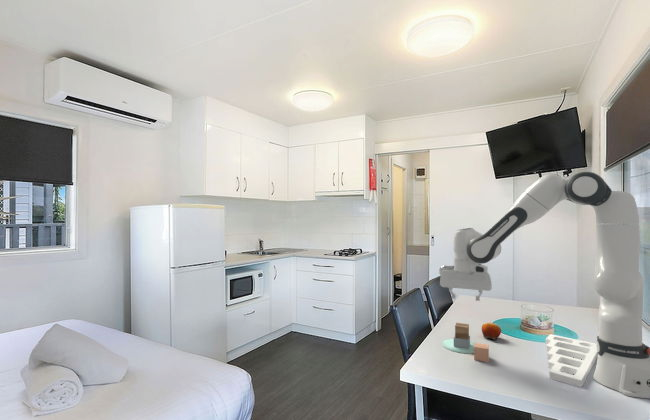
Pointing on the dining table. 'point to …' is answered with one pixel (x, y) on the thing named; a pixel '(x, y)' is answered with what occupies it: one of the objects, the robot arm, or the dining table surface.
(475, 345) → the terracotta block
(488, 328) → the fruit
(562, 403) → the dining table surface
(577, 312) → the dining table surface
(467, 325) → the walnut block
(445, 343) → the mint green round disc
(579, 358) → the trivet
